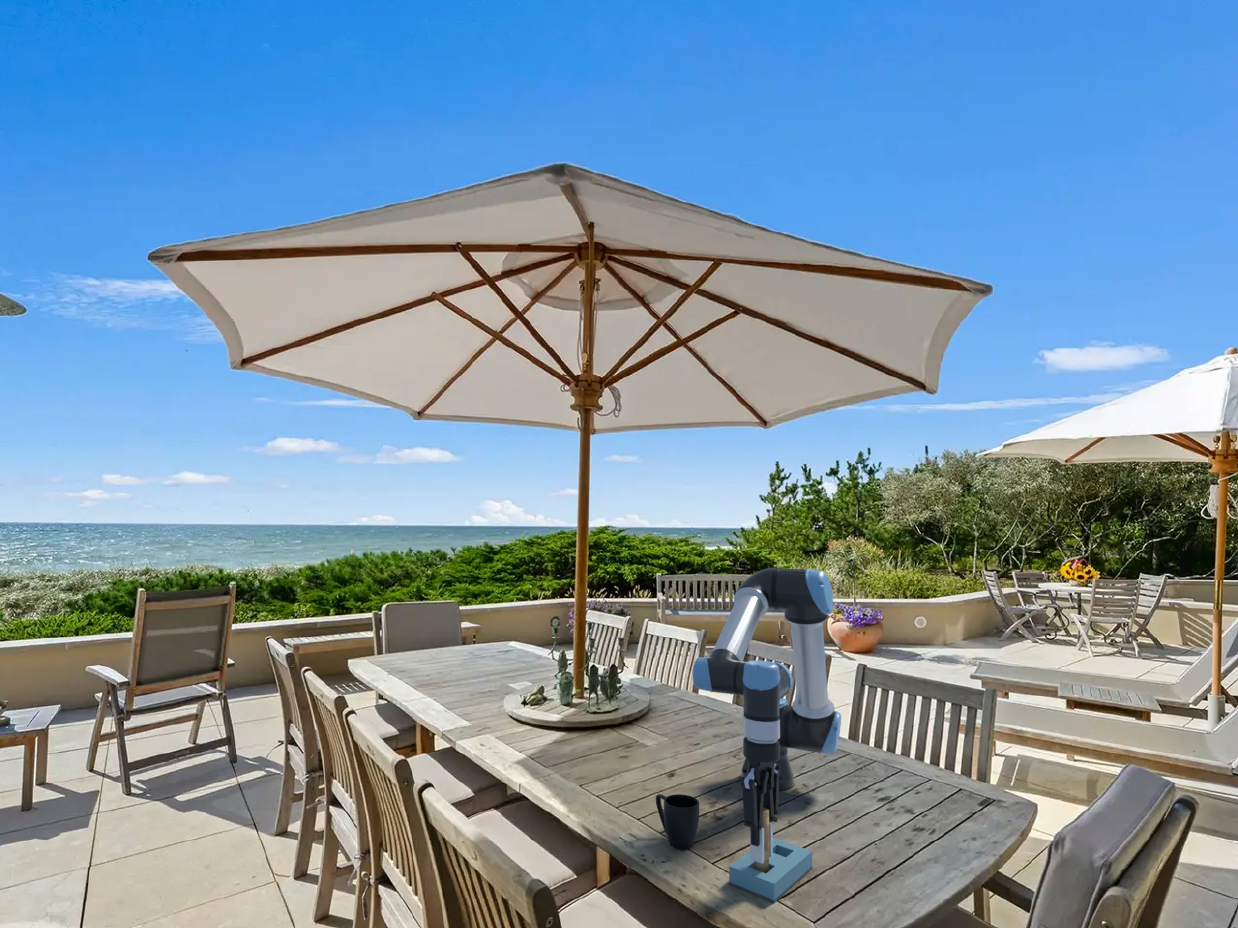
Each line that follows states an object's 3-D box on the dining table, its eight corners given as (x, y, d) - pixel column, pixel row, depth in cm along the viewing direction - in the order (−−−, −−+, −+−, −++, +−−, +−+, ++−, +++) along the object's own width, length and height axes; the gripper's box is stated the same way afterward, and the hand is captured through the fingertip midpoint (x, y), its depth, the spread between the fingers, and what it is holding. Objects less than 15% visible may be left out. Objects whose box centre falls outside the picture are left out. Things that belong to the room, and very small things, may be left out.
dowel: (758, 876, 133) (758, 805, 134) (771, 881, 131) (771, 809, 132) (751, 882, 130) (751, 809, 132) (764, 887, 128) (764, 813, 130)
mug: (670, 827, 156) (670, 786, 157) (706, 846, 146) (706, 802, 148) (645, 836, 150) (645, 793, 152) (681, 856, 141) (681, 811, 142)
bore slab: (769, 852, 144) (769, 836, 144) (812, 868, 137) (812, 850, 138) (729, 884, 130) (729, 865, 131) (774, 902, 124) (774, 883, 124)
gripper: (763, 726, 142) (763, 838, 139) (726, 742, 130) (725, 865, 127) (794, 733, 138) (795, 849, 135) (759, 751, 125) (759, 878, 122)
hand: (761, 857), depth 131 cm, fingers open, 3 cm apart
